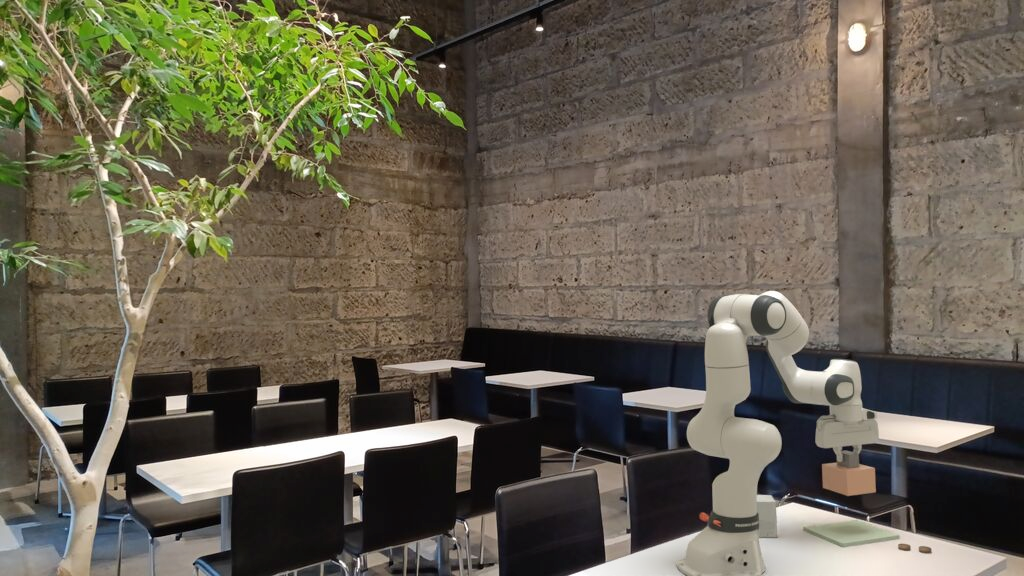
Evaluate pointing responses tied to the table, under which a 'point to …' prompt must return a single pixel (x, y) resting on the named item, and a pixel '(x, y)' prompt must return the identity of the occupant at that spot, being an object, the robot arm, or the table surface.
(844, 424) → the robot arm
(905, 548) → the token
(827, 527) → the sage board
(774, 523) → the small box
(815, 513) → the table surface
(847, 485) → the peach base with post
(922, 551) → the token
